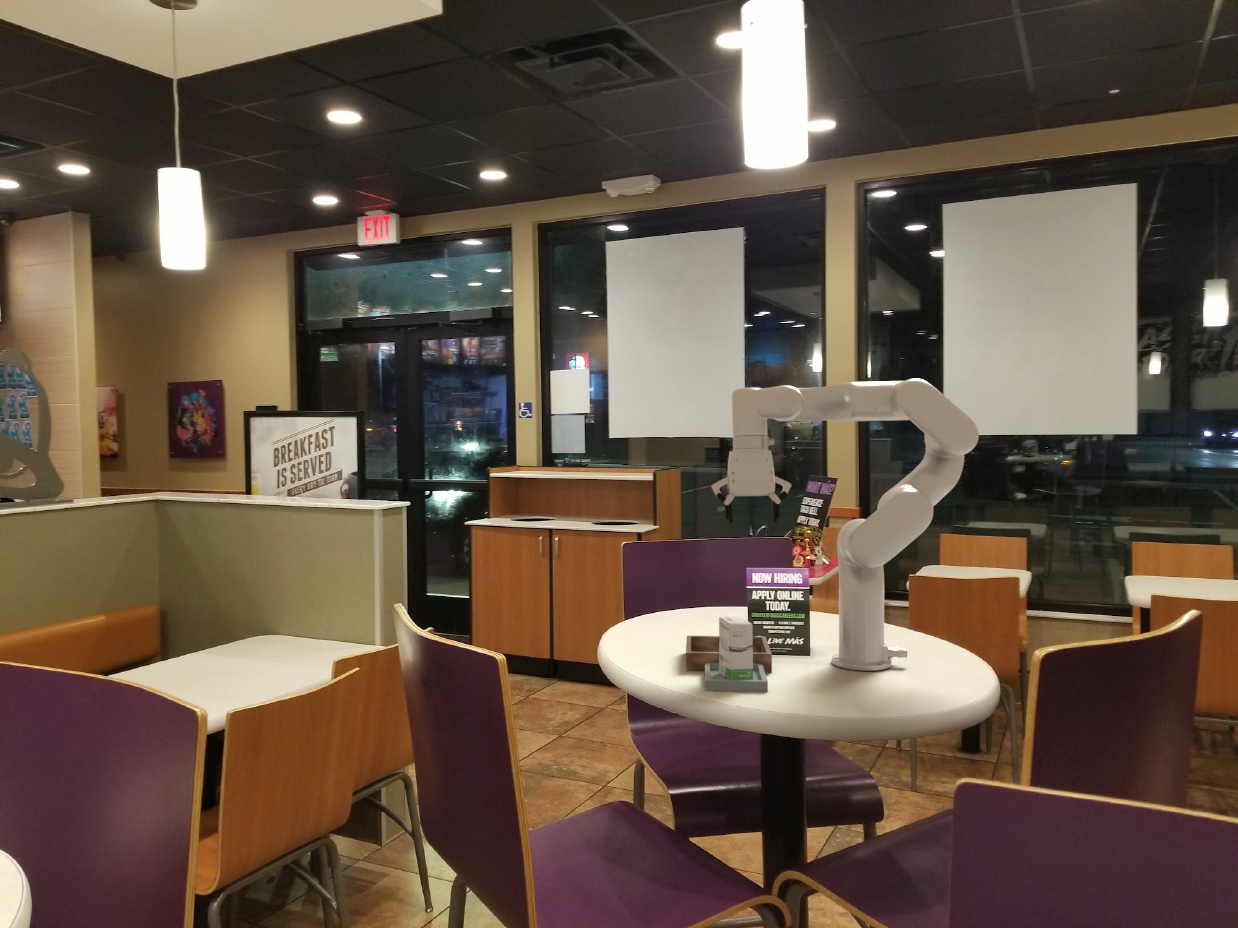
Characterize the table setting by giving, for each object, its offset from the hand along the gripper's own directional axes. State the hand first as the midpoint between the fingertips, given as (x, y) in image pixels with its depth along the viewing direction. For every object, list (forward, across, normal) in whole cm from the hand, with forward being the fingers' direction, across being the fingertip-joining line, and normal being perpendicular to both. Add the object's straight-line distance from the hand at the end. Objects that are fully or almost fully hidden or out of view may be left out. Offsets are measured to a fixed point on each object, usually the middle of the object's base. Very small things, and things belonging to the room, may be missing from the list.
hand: (752, 522), depth 192 cm
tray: (+31, +6, +15) cm, 35 cm away
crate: (+31, +6, -1) cm, 31 cm away
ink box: (+30, +6, +15) cm, 34 cm away
